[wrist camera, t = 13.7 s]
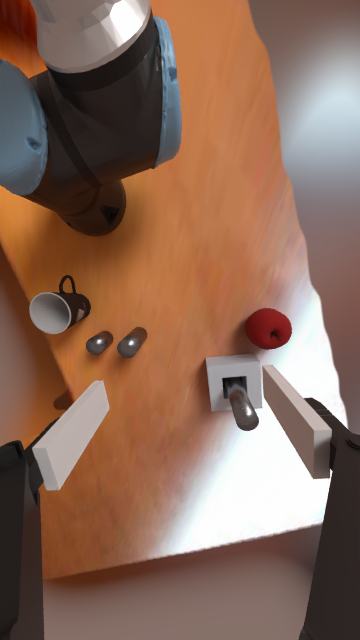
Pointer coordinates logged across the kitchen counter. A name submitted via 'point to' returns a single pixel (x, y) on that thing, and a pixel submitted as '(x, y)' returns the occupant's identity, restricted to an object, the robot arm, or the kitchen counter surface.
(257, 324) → the apple
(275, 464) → the kitchen counter surface
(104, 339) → the short pin
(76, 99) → the robot arm
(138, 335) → the medium pin
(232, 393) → the long pin
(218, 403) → the hole block
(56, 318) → the coffee mug
